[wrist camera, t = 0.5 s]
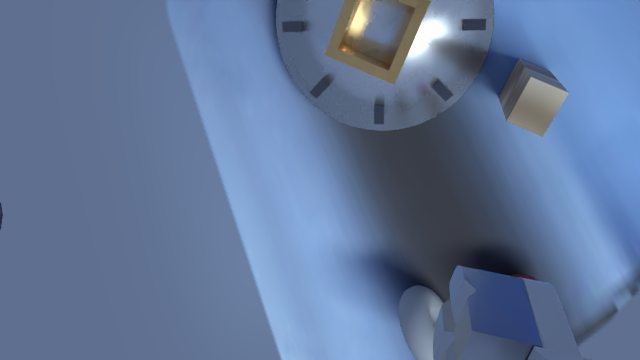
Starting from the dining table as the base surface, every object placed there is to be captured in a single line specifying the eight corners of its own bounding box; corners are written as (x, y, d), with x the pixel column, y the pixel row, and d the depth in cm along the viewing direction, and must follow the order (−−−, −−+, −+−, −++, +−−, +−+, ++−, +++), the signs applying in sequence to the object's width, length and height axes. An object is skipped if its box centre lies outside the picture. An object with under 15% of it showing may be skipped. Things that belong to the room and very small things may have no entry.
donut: (396, 276, 62) (387, 329, 53) (422, 264, 61) (416, 316, 52) (441, 339, 64) (439, 401, 55) (467, 329, 63) (469, 390, 54)
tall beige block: (518, 58, 50) (531, 76, 42) (550, 71, 50) (568, 92, 42) (498, 96, 52) (506, 121, 44) (529, 109, 52) (542, 136, 44)
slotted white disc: (320, -131, 48) (309, -139, 45) (536, -44, 47) (543, -45, 43) (254, 80, 57) (240, 88, 54) (433, 158, 56) (432, 172, 52)
